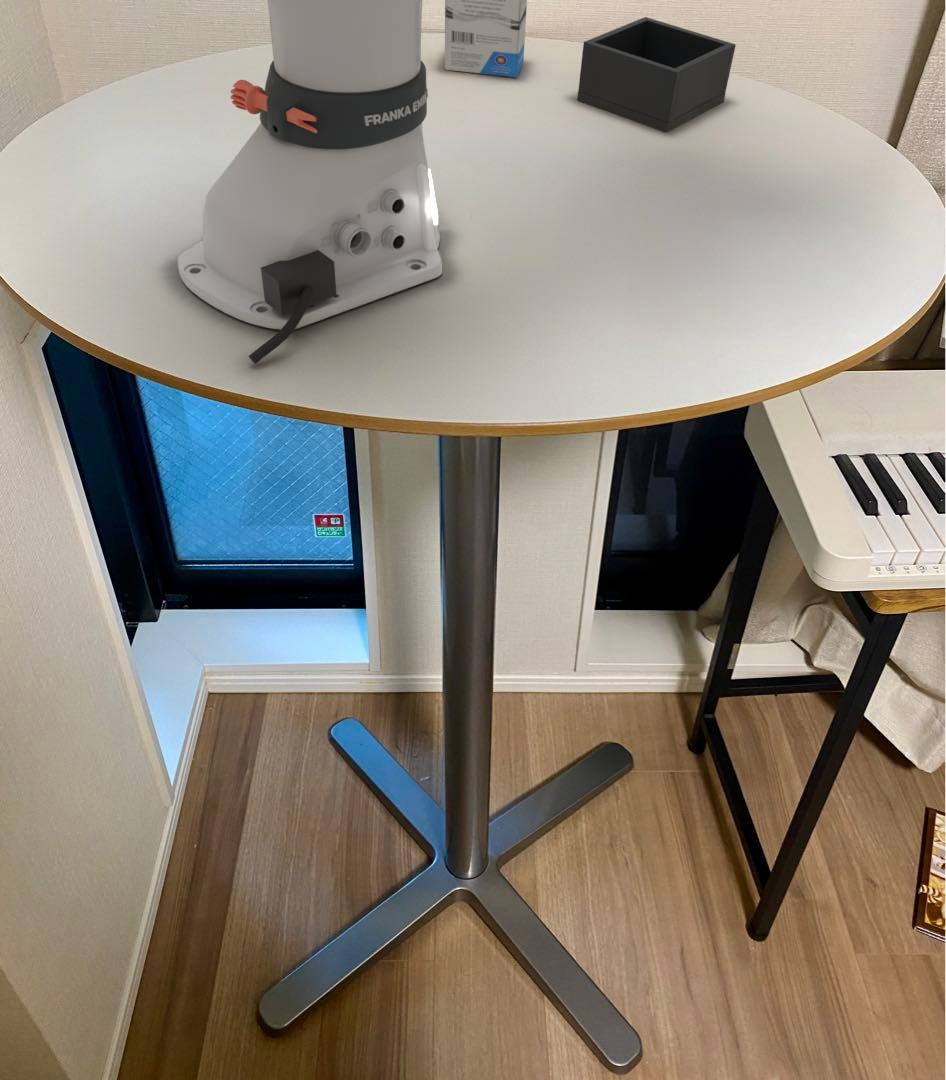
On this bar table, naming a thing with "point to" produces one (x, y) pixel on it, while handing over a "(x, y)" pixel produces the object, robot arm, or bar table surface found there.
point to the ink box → (485, 36)
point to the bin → (655, 73)
